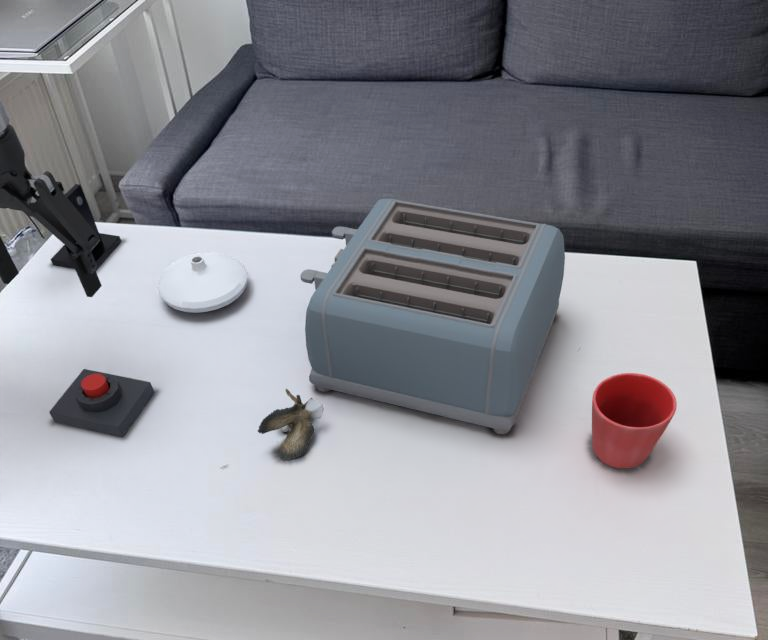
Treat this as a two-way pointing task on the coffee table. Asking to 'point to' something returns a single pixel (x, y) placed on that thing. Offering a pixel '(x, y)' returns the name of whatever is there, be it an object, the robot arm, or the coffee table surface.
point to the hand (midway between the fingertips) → (52, 284)
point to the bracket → (106, 240)
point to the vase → (202, 282)
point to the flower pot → (629, 418)
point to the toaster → (436, 311)
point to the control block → (103, 404)
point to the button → (95, 385)
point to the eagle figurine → (293, 425)
